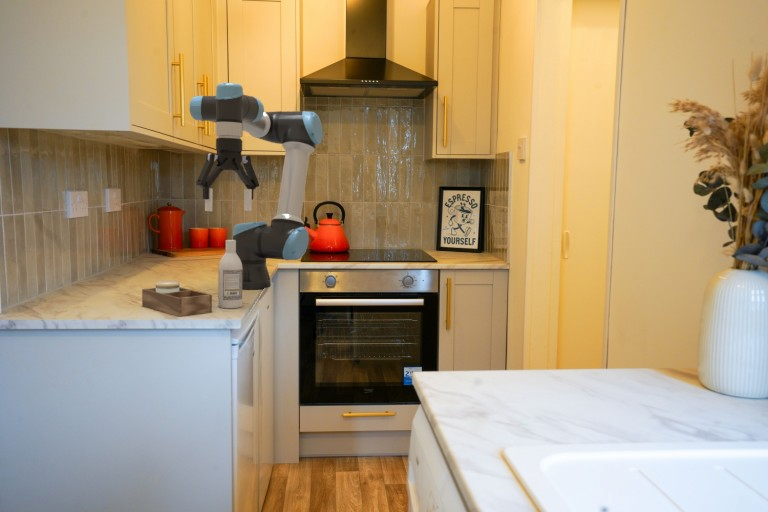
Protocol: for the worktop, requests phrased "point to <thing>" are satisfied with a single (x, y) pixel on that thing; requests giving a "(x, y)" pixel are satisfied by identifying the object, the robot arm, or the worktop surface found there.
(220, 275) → the bath foam
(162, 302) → the caddy
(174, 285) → the cream jar
